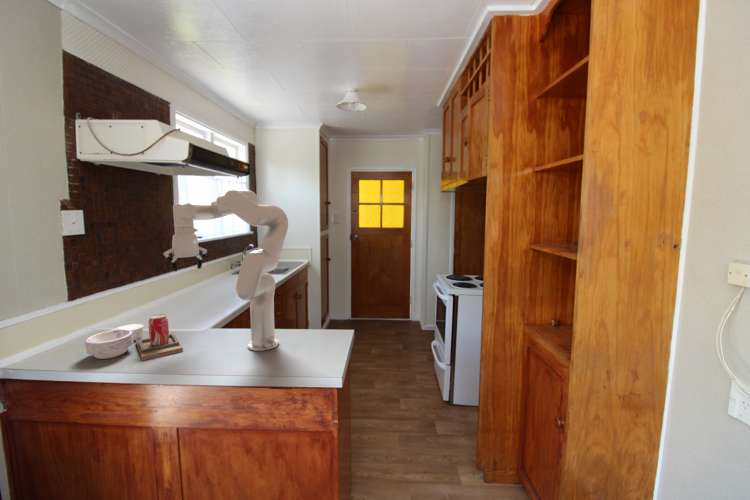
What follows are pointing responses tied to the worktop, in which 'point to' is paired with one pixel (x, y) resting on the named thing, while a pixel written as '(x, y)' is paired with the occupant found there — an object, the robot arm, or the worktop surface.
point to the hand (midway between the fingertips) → (187, 269)
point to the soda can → (158, 330)
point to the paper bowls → (109, 343)
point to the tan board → (158, 350)
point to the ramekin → (133, 330)
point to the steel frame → (159, 345)
